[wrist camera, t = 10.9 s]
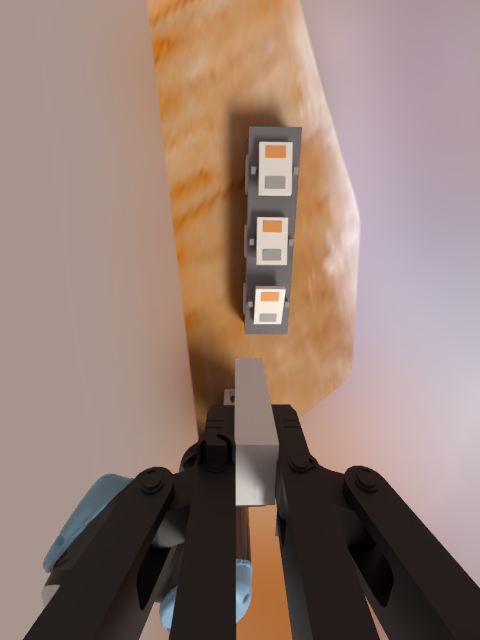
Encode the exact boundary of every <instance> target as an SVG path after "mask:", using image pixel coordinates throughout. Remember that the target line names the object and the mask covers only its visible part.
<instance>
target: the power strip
mask: <svg viewBox="0 0 480 640" xmlns="http://www.w3.org/2000/svg"><path fill="white" fill-rule="evenodd" d="M301 133H302V127H261V126H249V133H248V154H247V155H246V160H245V195H247V208H246V225H244V257H246V262H245V282H243V314H245V316H244V325H245V334H287V332H288V318H289V304H290V290H291V275H292V261H293V247H294V233H295V219H296V204H297V190H298V176H299V162H300V148H301ZM259 142H293V152H292V194H291V196H259V195H258V178H259ZM257 217H281V218H288V243H287V265H256V239H257ZM256 286H285V288H286V292H285V299H284V306H283V313H282V321H281V324H254V306H255V289H256Z"/></svg>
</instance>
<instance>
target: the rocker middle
mask: <svg viewBox="0 0 480 640" xmlns="http://www.w3.org/2000/svg"><path fill="white" fill-rule="evenodd" d="M287 243H288V218H281V217H257V239H256V265H287Z"/></svg>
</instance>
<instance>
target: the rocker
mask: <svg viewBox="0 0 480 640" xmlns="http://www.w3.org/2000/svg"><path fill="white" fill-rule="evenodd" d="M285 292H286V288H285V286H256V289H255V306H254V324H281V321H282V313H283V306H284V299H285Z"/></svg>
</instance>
